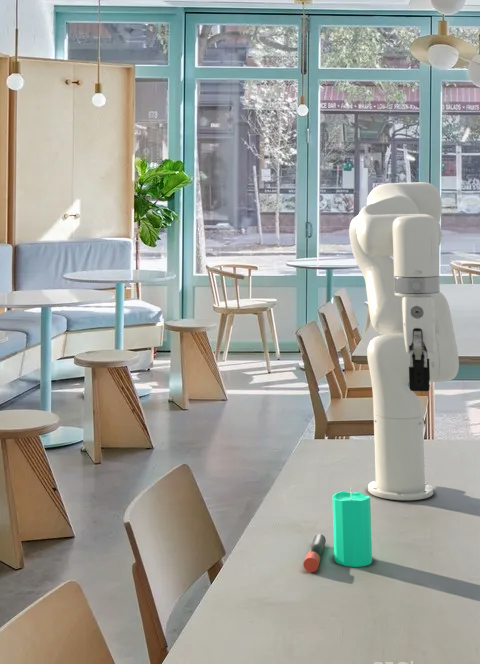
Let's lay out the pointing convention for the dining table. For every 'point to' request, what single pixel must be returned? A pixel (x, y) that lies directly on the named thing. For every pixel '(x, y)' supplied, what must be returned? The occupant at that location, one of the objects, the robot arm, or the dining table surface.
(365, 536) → the candle
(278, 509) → the dining table surface
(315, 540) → the marker
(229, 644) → the dining table surface
